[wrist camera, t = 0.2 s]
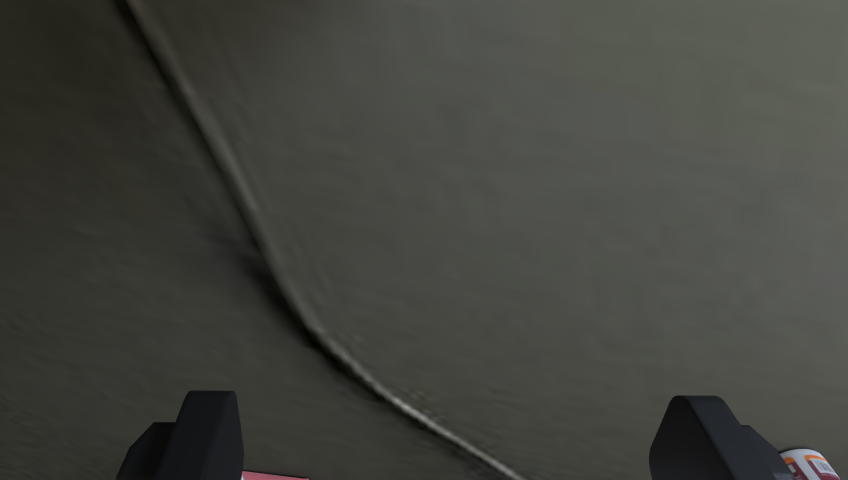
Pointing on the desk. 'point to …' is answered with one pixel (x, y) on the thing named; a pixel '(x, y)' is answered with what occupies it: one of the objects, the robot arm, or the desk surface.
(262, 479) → the ink cartridge box
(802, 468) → the pill bottle
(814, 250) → the desk surface
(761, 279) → the desk surface
